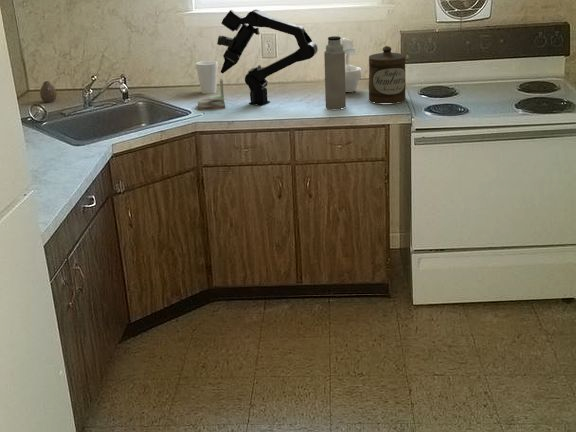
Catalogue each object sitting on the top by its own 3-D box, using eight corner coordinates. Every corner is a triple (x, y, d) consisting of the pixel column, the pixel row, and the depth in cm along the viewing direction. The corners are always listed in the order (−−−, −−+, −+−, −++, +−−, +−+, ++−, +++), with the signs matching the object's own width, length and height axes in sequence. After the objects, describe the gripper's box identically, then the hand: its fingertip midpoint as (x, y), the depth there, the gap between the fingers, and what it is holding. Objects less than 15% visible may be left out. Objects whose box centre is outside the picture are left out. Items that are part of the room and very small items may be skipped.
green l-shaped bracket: (224, 96, 334) (222, 78, 331) (224, 99, 328) (223, 81, 325) (209, 97, 333) (208, 79, 330) (209, 100, 328) (208, 82, 325)
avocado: (49, 99, 357) (46, 79, 353) (61, 100, 353) (58, 80, 350) (38, 102, 351) (34, 82, 348) (49, 104, 348) (46, 84, 345)
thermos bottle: (331, 104, 327) (329, 34, 317) (349, 106, 323) (348, 35, 313) (322, 108, 321) (320, 38, 310) (340, 110, 317) (338, 39, 307)
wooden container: (374, 106, 321) (374, 51, 313) (364, 97, 335) (364, 44, 327) (410, 103, 324) (411, 48, 316) (398, 94, 337) (399, 41, 329)
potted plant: (332, 89, 351) (331, 31, 342) (359, 87, 352) (358, 29, 342) (336, 96, 340) (335, 36, 330) (363, 94, 340) (363, 34, 331)
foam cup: (218, 94, 352) (216, 64, 347) (197, 94, 352) (194, 65, 347) (220, 89, 361) (218, 60, 356) (199, 89, 361) (197, 60, 356)
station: (224, 103, 336) (223, 96, 335) (225, 108, 328) (224, 101, 327) (198, 105, 335) (197, 98, 334) (198, 110, 327) (197, 103, 326)
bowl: (212, 102, 334) (212, 97, 333) (212, 106, 329) (212, 101, 328) (197, 103, 334) (197, 98, 333) (198, 107, 328) (197, 102, 327)
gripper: (227, 24, 332) (208, 56, 336) (223, 30, 314) (202, 63, 319) (250, 39, 333) (231, 71, 338) (247, 45, 316) (226, 79, 321)
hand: (222, 70), depth 329 cm, fingers open, 9 cm apart
